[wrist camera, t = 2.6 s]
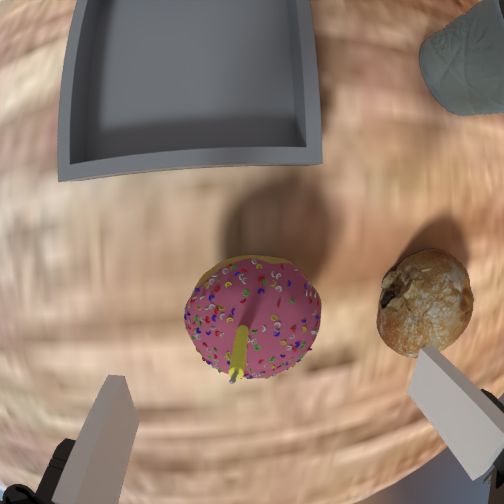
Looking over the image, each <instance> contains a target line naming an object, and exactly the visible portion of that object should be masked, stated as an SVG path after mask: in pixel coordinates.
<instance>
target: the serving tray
mask: <svg viewBox="0 0 504 504" xmlns="http://www.w3.org/2000/svg"><path fill="white" fill-rule="evenodd" d="M317 164H323V163H322V131H321V111H320V94H319V80H318V68H317V57H316V47H315V37H314V28H313V20H312V12H311V5H310V0H77V2H76V6H75V10H74V14H73V18H72V22H71V26H70V31H69V36H68V41H67V47H66V52H65V58H64V65H63V72H62V80H61V90H60V101H59V115H58V182H67V181H82V180H89V179H95V178H103V177H110V176H118V175H127V174H135V173H145V172H155V171H167V170H179V169H193V168H211V167H234V166H309V165H317Z"/></svg>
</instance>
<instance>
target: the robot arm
mask: <svg viewBox="0 0 504 504" xmlns="http://www.w3.org/2000/svg"><path fill="white" fill-rule="evenodd" d="M407 393H408V394H409V396H410V397H411V398H412V399H413V401H414V402H415V403H416V405H417V406H418V407H419V409H420V410H421V411H422V412H423V414H424V415H425V416H426V418H427V419H428V420H429V422H430V423H431V424H432V426H433V427H434V428H435V430H436V431H437V432H438V434H439V435H440V436H441V438H442V439H443V440H444V442H445V443H446V444H447V446H448V447H449V448H450V450H451V451H452V452H453V454H454V455H455V456H456V458H457V459H458V461H459V462H460V463H461V465H462V466H463V467H464V469H465V470H466V472H467V473H468V474H469V476H470V477H471V479H472V480H475V479H476V478H478V477H479V476H481V475H483V474H484V473H485V472H486V471H487V470H488V469H489V467H490V466H491V465H492V464H493V465H494V466H495V468H494V469H493V470H492V471H491V472H490V474H489V475H488V476H487V477H486V478H485V480H484V482H483V483H484V484H485V483H486V482H487V481H488V480H489V479H490V478H491V480H490V481H489V484H491V486H490V494H489V501H488V504H504V406H503V404H502V403H501V402H500V401H498V399H497V398H496V397H495V396H494V395H493V394H492V393H490V392H488V391H486V390H484V389H481V390H480V389H479V388H477V387H476V386H475V385H474V384H473V383H472V382H471V381H470V380H469V379H468V378H467V377H466V376H465V375H464V374H463V373H462V372H461V371H460V370H459V369H457V368H456V367H455V366H454V365H453V364H452V363H451V362H450V361H449V360H448V359H447V358H446V357H444V356H443V355H442V354H441V353H440V352H439V351H438V350H437V349H436V348H435V347H433V346H432V345H431V346H428V347H424V348H420V351H419V355H418V359H417V362H416V365H415V369H414V372H413V375H412V379H411V382H410V385H409V388H408V391H407ZM139 421H140V420H139V417H138V415H137V412H136V409H135V406H134V403H133V401H132V398H131V395H130V392H129V389H128V386H127V383H126V379H125V376H118V375H108V376H107V378H106V380H105V382H104V384H103V386H102V388H101V390H100V392H99V394H98V396H97V398H96V400H95V402H94V404H93V406H92V408H91V410H90V412H89V414H88V417H87V419H86V421H85V423H84V425H83V427H82V429H81V431H80V434H79V436H78V438H77V440H71V439H67V438H66V439H65V440H63V441H62V442H61V443H60V444H59V445H58V446H57V448H56V450H55V452H54V454H53V456H52V458H51V460H50V462H49V464H48V465H49V466H47V469H46V471H45V473H44V475H43V477H42V480H41V482H40V484H39V487H38V489H37V491H36V493H34V492H33V491H32V490H31V489H30V488H28V487H27V486H25V485H22V484H14V485H12V486H9V487H8V488H7V489H6V490H5V491H4V494H3V501H0V504H118V502H119V498H120V493H121V489H122V485H123V481H124V477H125V473H126V469H127V465H128V461H129V457H130V454H131V450H132V446H133V443H134V439H135V435H136V432H137V428H138V425H139Z"/></svg>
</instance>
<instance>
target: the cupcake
mask: <svg viewBox="0 0 504 504" xmlns="http://www.w3.org/2000/svg"><path fill="white" fill-rule="evenodd" d="M184 312H185V314H184V320H185V328H186V330H187V332H188V334H189V336H190V337H191V339H192V341H193V343H194V345H195V346H196V351H197V352H200V354H201V355H202V359H203V358H204V359H203V361H205V360H206V362H207V364H209V365H210V364H211V365H212V367H213V368H216V369H218V371H219V373H220V371H221V372H224V373H227V374H229V375H230V377H231V380H230V381H229V383H230V384H233V383H235V381H236V379H240V378H241V379H242V377H246V378H247V379H252V378H269V377H270V376H276V374H277V373H280V372H282V371H284V370H286V369H287V370H288V368H289V367H293V366H294V365H295V364H296V362H297V363H298V362H299V361H301V360H300V359H301V358H302V357H303V356H304V355H305V354H306V352H307V351H309V350H312V348H310V347H311V346H312V344H313V342H314V340H315V338H316V336H317V334H318V331H319V327H320V318H321V299H320V296H319V294H318V293H317V291H316V289H315V288H314V287H313V286H312V283H311V282H309V281H308V279H307V278H306V277H305V276H304V275H303V273H302V272H301V271H300V270H299V269H298V268H297V267H296V266H295V265H294V264H293V263H292V262H291V261H289V260H287V259H282V258H276V257H271V256H263V255H242V256H236V257H232V258H229V259H226V260H224V261H222V262H220V263H219V264H217V265H216V266H215V267H213V268H212V269H211V270H209V271H208V272H206V273H205V274H204V275H203V276H202V277H201V279H200V280H199V282H198V283H197V285H196V287H195V289H194V291H193V293H192V296H191V297H190V299H189V300H188V302H187V304H186V307H185V309H184Z"/></svg>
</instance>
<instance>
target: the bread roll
mask: <svg viewBox="0 0 504 504" xmlns="http://www.w3.org/2000/svg"><path fill="white" fill-rule="evenodd" d="M381 288H383V291H382V294H381V298H380V302H379V311H378V314H377V321H376V322H377V329H378V331H379V334H380V336H381V338H382V339H383V341H384V342H385V344H386V345H387V346H389V347H390V348H391V349H392V350H394V351H396V352H397V353H399V354H401V355H403V356H406V357H411V358H418V355H419V351H420V348H424V347H428V346H431V345H432V346H433V347H435V348H436V349H437V350H438V351H439V352H440V351H442V350H444V349H445V348H447V347H448V346H450V345H451V344H453V343H454V342H455V341H456V340H457V339H458V338H459V336H460V335H461V334H462V333H463V332H464V330H465V329H466V327H467V325H468V323H469V321H470V319H471V316H472V311H473V302H474V298H473V294H472V291H471V287H470V279H469V275H468V273H467V271H466V269H465V268H464V267H463V265H462V264H461V262H459V261H458V260H457V259H456V258H455V257H453V256H452V255H450V254H448V253H446V252H445V251H442V250H439V249H429V250H425V251H423V250H422V251H421V252H419V253H417V254H413V255H411V256H409V257H407V258H405V259H404V260H403V261H402V262H401V263H400V264H399V265H398V266H397V268H396V270H395V271H390V272H388V273H387V275H386V276H385V278H384V279H383V283H382V287H381Z"/></svg>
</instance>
